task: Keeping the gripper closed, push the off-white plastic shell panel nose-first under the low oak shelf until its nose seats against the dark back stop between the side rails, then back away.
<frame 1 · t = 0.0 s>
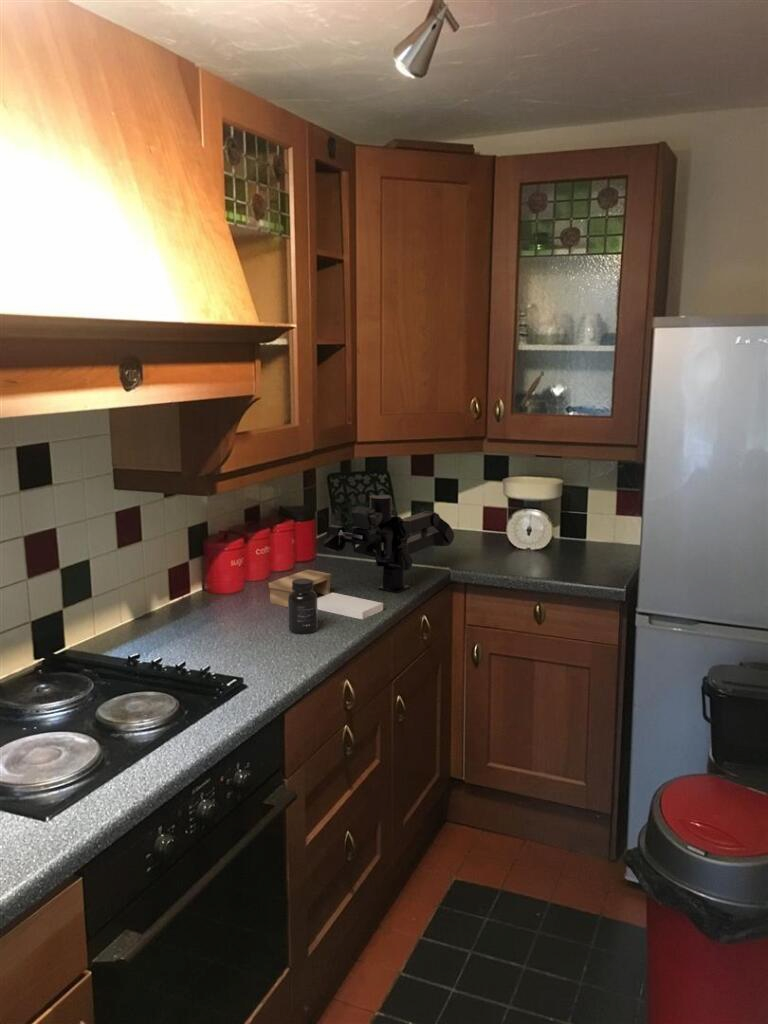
hand: (339, 548, 213), 17 cm above the worktop, tool horizontal, fingers open, 9 cm apart
shell panel: (346, 611, 219), on the worktop
supplement bottle: (303, 630, 203), on the worktop
oak shelf: (300, 598, 227), on the worktop
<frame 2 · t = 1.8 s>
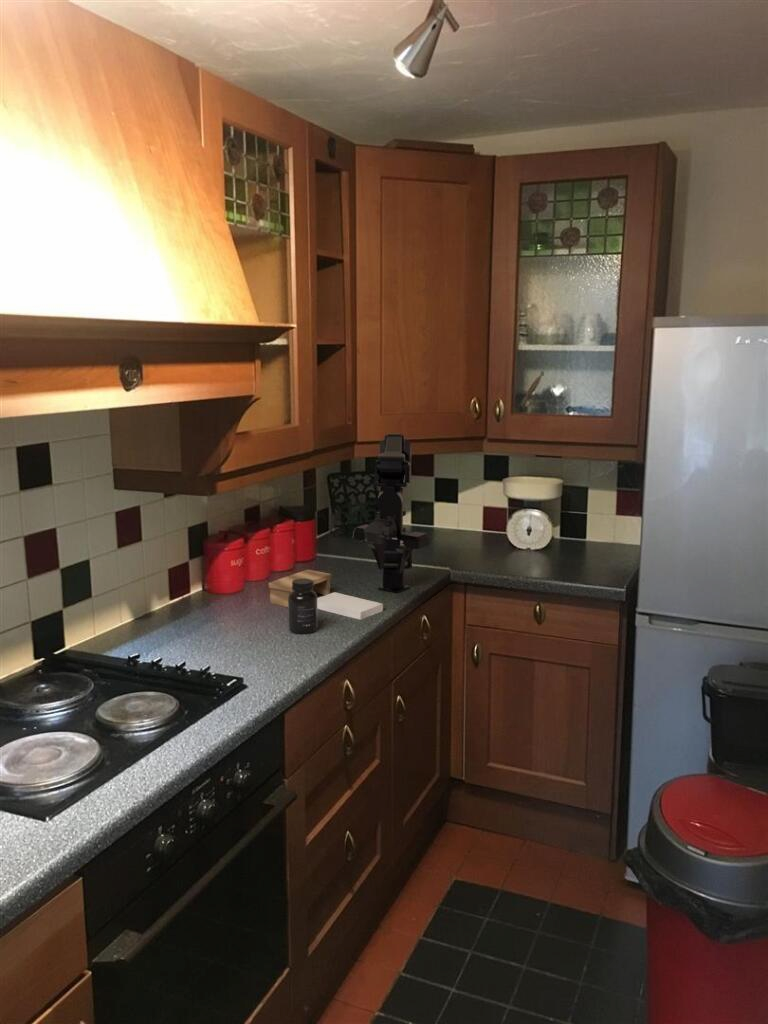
hand: (390, 570, 210), 12 cm above the worktop, tool pointing down, fingers open, 5 cm apart
nothing on the worktop moved.
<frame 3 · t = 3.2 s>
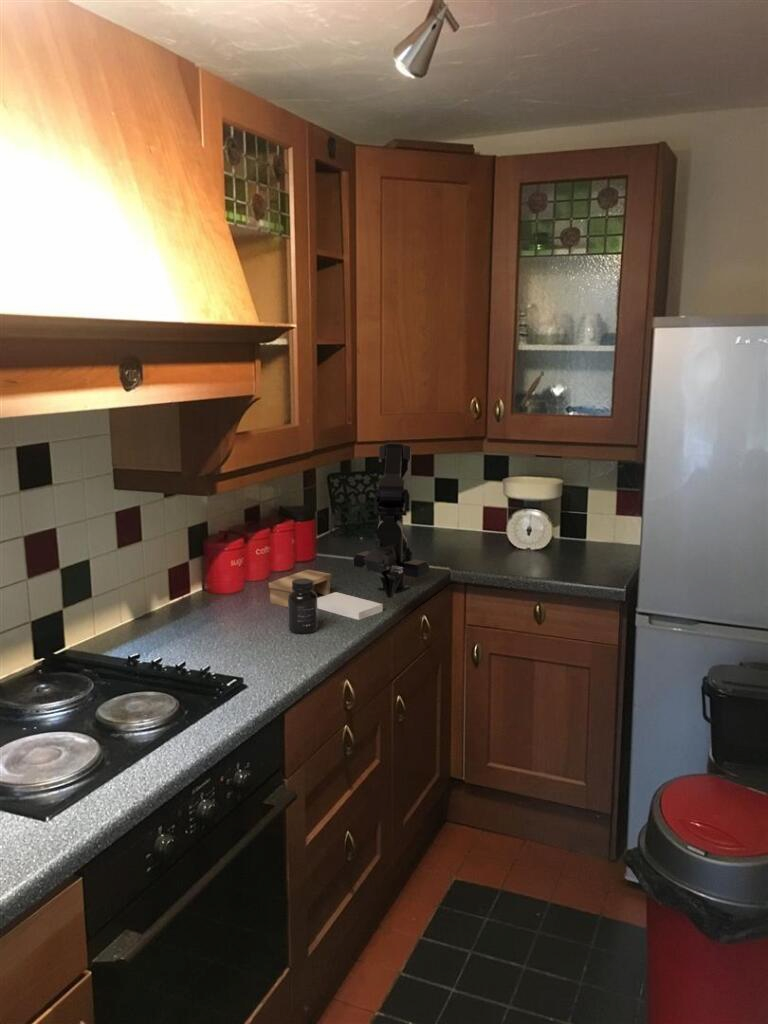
hand: (390, 597, 211), 5 cm above the worktop, tool pointing down, fingers closed
nothing on the worktop moved.
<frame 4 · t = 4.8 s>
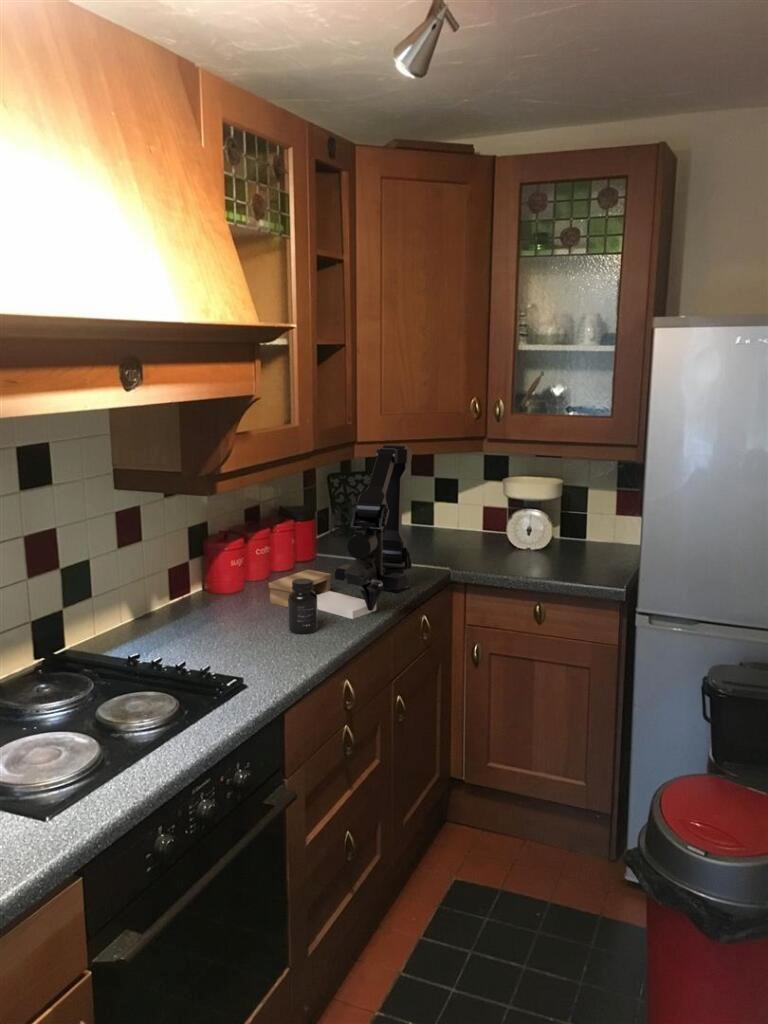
hand: (370, 610, 215), 1 cm above the worktop, tool pointing down, fingers closed
shell panel: (340, 609, 220), on the worktop, touching gripper
everything else where it was.
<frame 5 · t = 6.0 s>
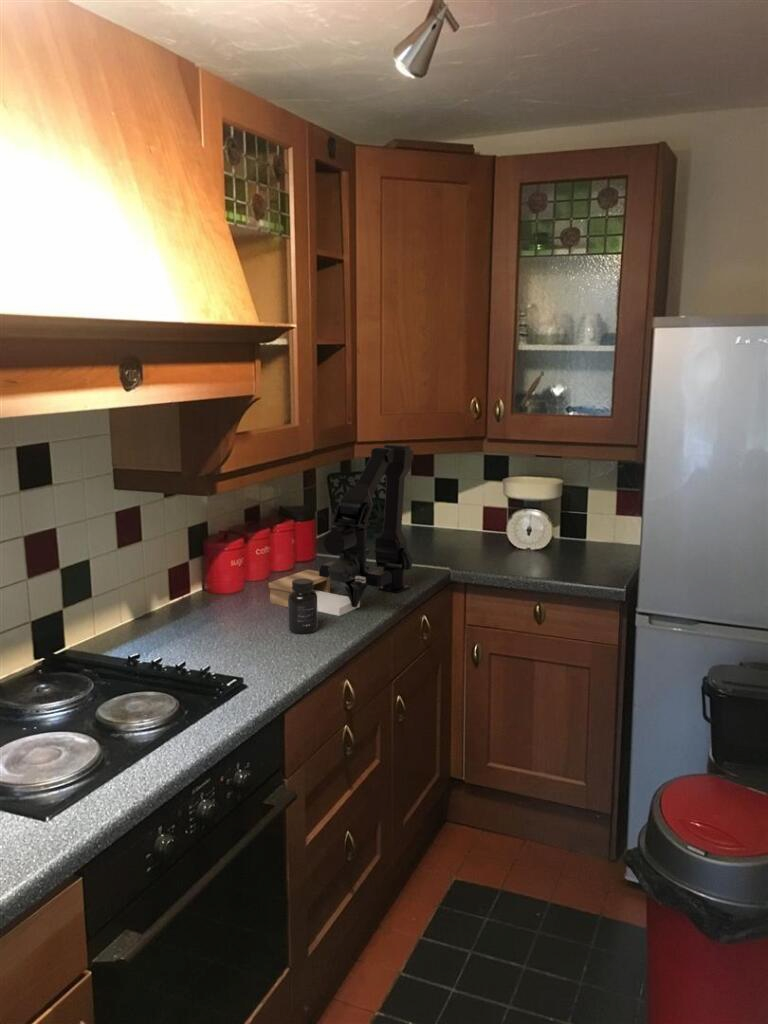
hand: (354, 606, 218), 1 cm above the worktop, tool pointing down, fingers closed
shell panel: (324, 607, 222), on the worktop
everything else where it was.
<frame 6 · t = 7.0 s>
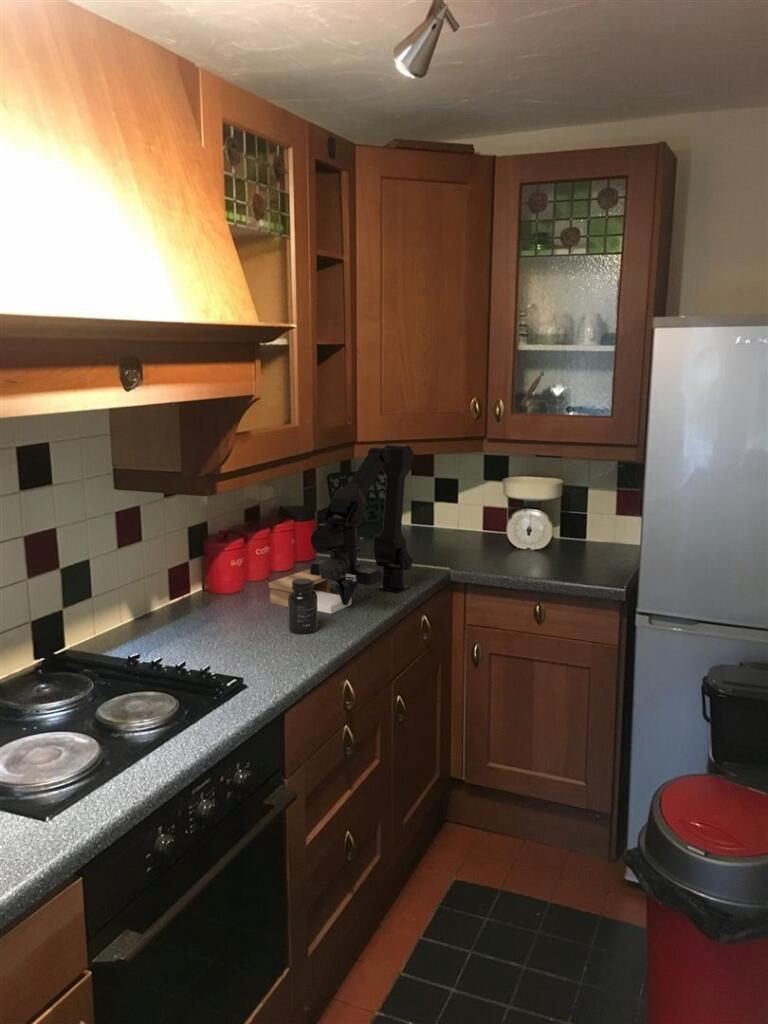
hand: (345, 604, 219), 1 cm above the worktop, tool pointing down, fingers closed
shell panel: (315, 605, 223), on the worktop
everything else where it was.
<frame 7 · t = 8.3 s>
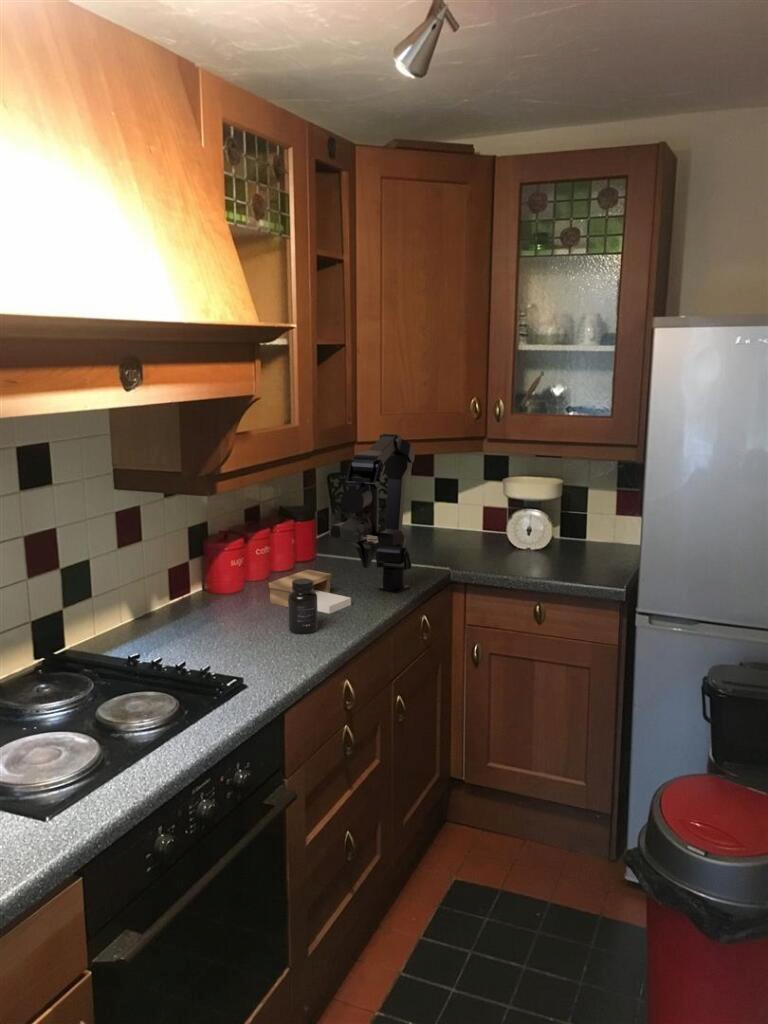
hand: (366, 567, 213), 12 cm above the worktop, tool pointing down, fingers closed
nothing on the worktop moved.
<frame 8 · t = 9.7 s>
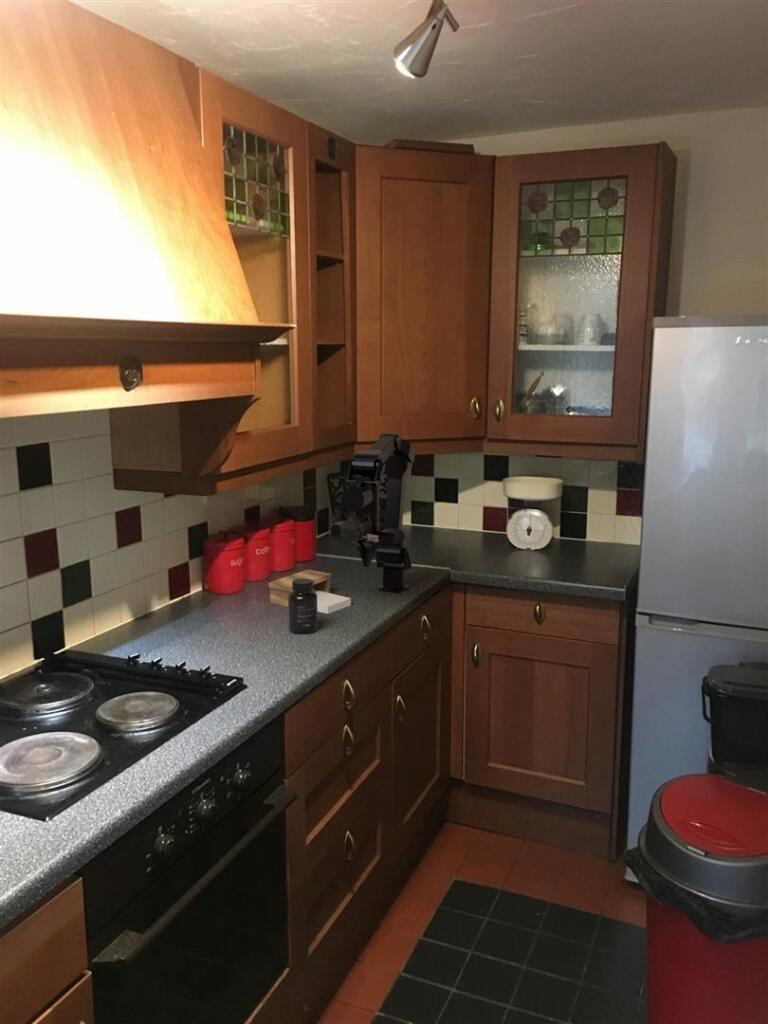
hand: (366, 566, 213), 12 cm above the worktop, tool pointing down, fingers closed
nothing on the worktop moved.
at the end: shell panel 1.0 cm from the target spot, on the worktop; shell panel tilted 0°; shell panel moved 9.4 cm from its start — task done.
